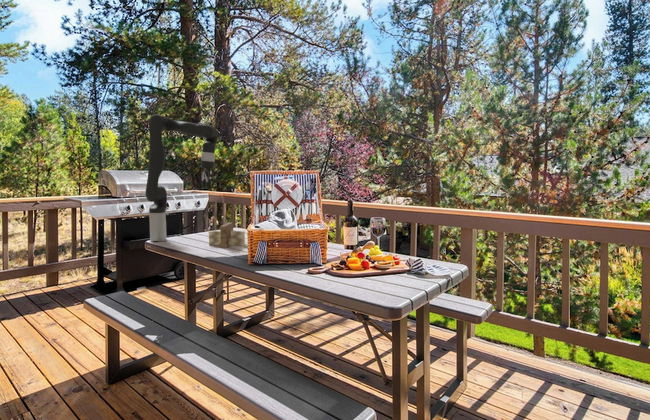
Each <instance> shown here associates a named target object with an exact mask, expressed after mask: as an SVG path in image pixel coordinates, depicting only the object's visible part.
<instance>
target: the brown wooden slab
mask: <svg viewBox="0 0 650 420" xmlns="http://www.w3.org/2000/svg"><path fill="white" fill-rule="evenodd" d="M219 228H220V230H219V231H221V245H220V248H221V249H227V248H228V247H229V246H230V245H229V238H231V231H234V222H233V221H229V222H225V224H224V223H223V225H220V227H219Z"/></svg>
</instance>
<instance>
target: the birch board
mask: <svg viewBox="0 0 650 420" xmlns="http://www.w3.org/2000/svg"><path fill="white" fill-rule="evenodd" d="M245 233H246V231H245V230H233V231H231V238H229V246H245V245H246V238H245V237H246V235H245ZM208 245H209V246H221V231H220V230H209V231H208Z"/></svg>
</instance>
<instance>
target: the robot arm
mask: <svg viewBox="0 0 650 420" xmlns="http://www.w3.org/2000/svg"><path fill="white" fill-rule="evenodd" d="M148 131H149V146H148V147H149V148H148V149H149V151H148V170H147V178H146V180H147V181H146V187H145V198H146V200H147V201H148V202H150V203H153V204H152V206H151V207H149V208H148V209H149V210H148V212H149V213H148V214H149V215H148V216H149V241H150V242H153V241H158V242H165V241H167V240H168V239H167V221H166V220H167V218H166V217H167V216H166V215H167V213H166V210H167V207H168V205H167V204H168V203H167V202H168V192H167V190H166V188H165V187H164V186H162V185H159V180H160V176H161V174H162V172H163V170H164V168H165V166H166V156H167V155H166V150H165V146H164V144H163V139H162V137H163V135H162V134H163V132H178V133H181V134H185V135H189V136H195V137H202V138H205V142H203V143H202V151H201V161H200V168H201V169H202V170H201V174H200V180H201V182H202V183H201V188H202V189H203V188H206V189H207V190H210V189H211V187H212V182H213V181H214V169H215V160H216V158H215V157H216V156H215V155H216V154H215V152H216V144H217V141H218V137H219V133H218V129H217V128H216V127H214V126H212V125H208V124H199V123H195V122H189V121H180V120H174V119H172V118H169V117H166V116H164V115H160V114H152V115H151V116H150V118H149V120H148Z"/></svg>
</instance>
